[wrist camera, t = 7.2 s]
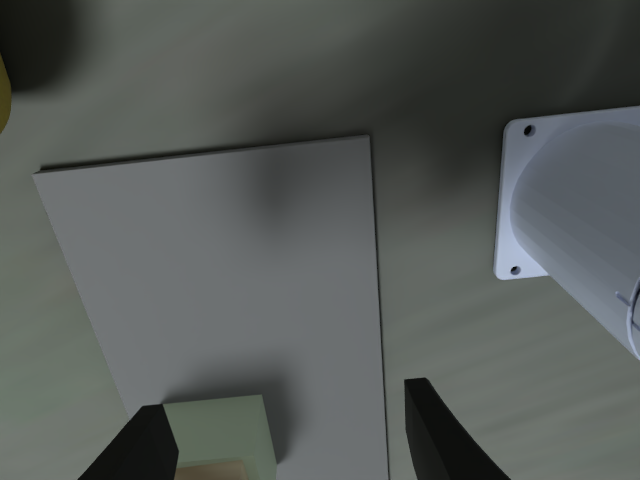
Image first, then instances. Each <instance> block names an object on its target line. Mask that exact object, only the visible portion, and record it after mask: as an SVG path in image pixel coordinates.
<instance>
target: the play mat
mask: <svg viewBox="0 0 640 480" xmlns="http://www.w3.org/2000/svg"><path fill="white" fill-rule="evenodd" d="M31 175H32V177H33V180H34V182H35V185H36V187H37V190H38V192H39V195H40V197H41V200H42V202H43V205H44V207H45V210H46V212H47V215H48V217H49V220H50V222H51V225H52V227H53V230H54V232H55V235H56V237H57V240H58V242H59V245H60V247H61V250H62V252H63V255H64V257H65V260H66V262H67V265H68V267H69V270H70V272H71V275H72V277H73V280H74V282H75V285H76V287H77V290H78V292H79V295H80V297H81V300H82V302H83V305H84V307H85V310H86V312H87V315H88V317H89V320H90V322H91V325H92V327H93V329H94V332H95V334H96V337H97V339H98V342H99V344H100V347H101V349H102V352H103V354H104V357H105V359H106V362H107V364H108V367H109V369H110V372H111V374H112V377H113V379H114V382H115V384H116V387H117V389H118V392H119V394H120V397H121V399H122V402H123V404H124V407H125V409H126V412H127V414H128V417H129V419H131V418H132V417H133V416H134V415H135V414H136V412H137V411H138V410H139V409H140V408H141V407H142V406H145V405H155V404H170V403H180V402H190V401H200V400H210V399H220V398H230V397H240V396H251V395H261V394H262V397H263V402H264V407H265V411H266V416H267V421H268V425H269V430H270V435H271V439H272V444H273V449H274V453H275V458H276V463H277V473H276V480H388V463H387V445H386V427H385V409H384V390H383V372H382V354H381V336H380V317H379V299H378V281H377V263H376V245H375V226H374V208H373V190H372V172H371V153H370V137H369V136H368V135H359V136H350V137H341V138H332V139H323V140H314V141H305V142H296V143H287V144H278V145H268V146H259V147H250V148H241V149H232V150H223V151H214V152H205V153H196V154H187V155H178V156H169V157H160V158H151V159H142V160H133V161H124V162H115V163H106V164H97V165H88V166H79V167H70V168H60V169H51V170H42V171H38V172H36V173H34V174H31Z"/></svg>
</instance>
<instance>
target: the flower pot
mask: <svg viewBox="0 0 640 480" xmlns="http://www.w3.org/2000/svg"><path fill="white" fill-rule="evenodd" d="M10 111H11V85H10V81H9V78H8V76H7V72H6V69H5V66H4V63H3V60H2V57H1V54H0V134H1V132H2V131H3V129H4V128H5V126H6V124H7V122H8V119H9V116H10Z"/></svg>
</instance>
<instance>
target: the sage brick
mask: <svg viewBox="0 0 640 480" xmlns="http://www.w3.org/2000/svg"><path fill="white" fill-rule="evenodd" d="M163 406H164V409H165V412H166V415H167V418H168V421H169V424H170V427H171V429H172V432H173V435H174V438H175V441H176V444H177V447H178V449H179V456H178V462H177V467H176V468H183V467H191V466H198V465H206V464H214V463H222V462H230V461H237V460H243V463H244V466H245V469H246V472H247V475H248V478H249V480H276V473H277V463H276V458H275V453H274V449H273V444H272V439H271V435H270V430H269V425H268V421H267V416H266V411H265V407H264V402H263V397H262V394H261V395H251V396H240V397H230V398H220V399H210V400H200V401H190V402H180V403H170V404H163Z"/></svg>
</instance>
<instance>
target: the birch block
mask: <svg viewBox="0 0 640 480" xmlns="http://www.w3.org/2000/svg"><path fill="white" fill-rule="evenodd" d="M174 480H249V478H248V475H247V472H246V469H245V466H244V463H243V460H237V461H230V462H222V463H214V464H206V465H198V466H191V467H183V468H176V473H175V477H174Z"/></svg>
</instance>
